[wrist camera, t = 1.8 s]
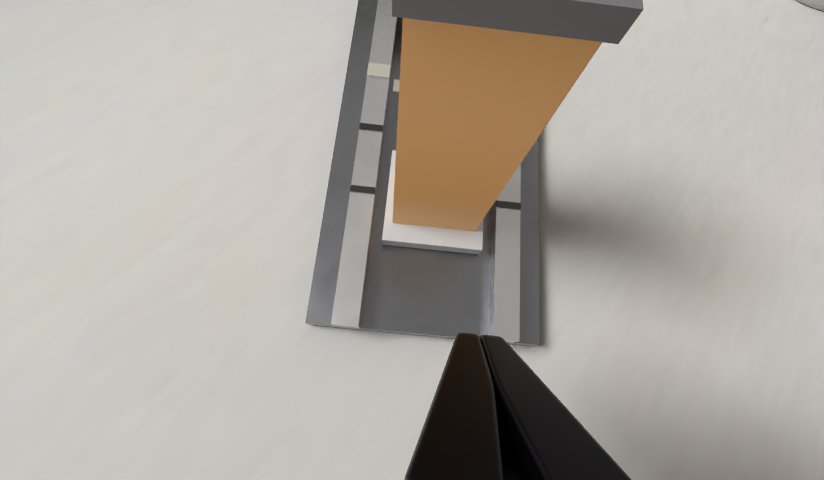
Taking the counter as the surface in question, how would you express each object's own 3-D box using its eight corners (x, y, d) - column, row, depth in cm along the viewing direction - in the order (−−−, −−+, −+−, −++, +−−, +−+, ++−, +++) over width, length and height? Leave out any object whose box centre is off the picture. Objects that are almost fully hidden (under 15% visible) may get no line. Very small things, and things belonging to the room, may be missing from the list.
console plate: (534, 345, 20) (560, 342, 17) (308, 324, 19) (294, 317, 16) (532, 23, 26) (552, -23, 23) (360, 2, 25) (357, -48, 22)
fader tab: (478, 254, 20) (658, 42, 7) (382, 244, 20) (376, 8, 7) (481, 167, 21) (636, -146, 8) (392, 157, 21) (403, -177, 8)
